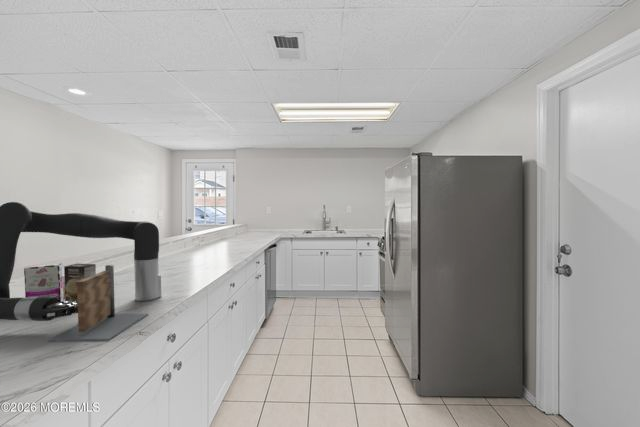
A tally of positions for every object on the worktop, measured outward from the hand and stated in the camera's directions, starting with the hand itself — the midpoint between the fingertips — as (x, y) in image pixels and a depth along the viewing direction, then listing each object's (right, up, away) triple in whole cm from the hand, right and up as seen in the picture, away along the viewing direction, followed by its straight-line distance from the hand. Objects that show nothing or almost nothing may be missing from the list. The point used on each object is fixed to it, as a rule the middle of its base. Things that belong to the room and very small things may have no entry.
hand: (91, 308), depth 103 cm
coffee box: (-25, -7, +29) cm, 38 cm away
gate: (+1, -5, +1) cm, 5 cm away
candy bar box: (-38, -7, +27) cm, 47 cm away
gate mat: (+2, -7, +3) cm, 8 cm away
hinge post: (-1, -7, +11) cm, 13 cm away
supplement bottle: (-39, -7, +40) cm, 56 cm away
